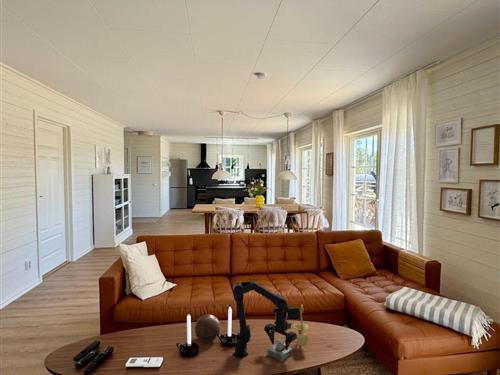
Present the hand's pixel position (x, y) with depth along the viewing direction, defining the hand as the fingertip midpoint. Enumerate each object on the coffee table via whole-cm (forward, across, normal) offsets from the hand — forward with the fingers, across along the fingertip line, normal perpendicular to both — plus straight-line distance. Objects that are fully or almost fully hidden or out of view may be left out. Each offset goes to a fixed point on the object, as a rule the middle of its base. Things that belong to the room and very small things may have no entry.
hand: (279, 347), depth 173 cm
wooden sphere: (+4, +41, +17) cm, 45 cm away
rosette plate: (+4, 0, 0) cm, 4 cm away
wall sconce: (+4, -4, -16) cm, 17 cm away
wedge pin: (+4, 0, 0) cm, 4 cm away
